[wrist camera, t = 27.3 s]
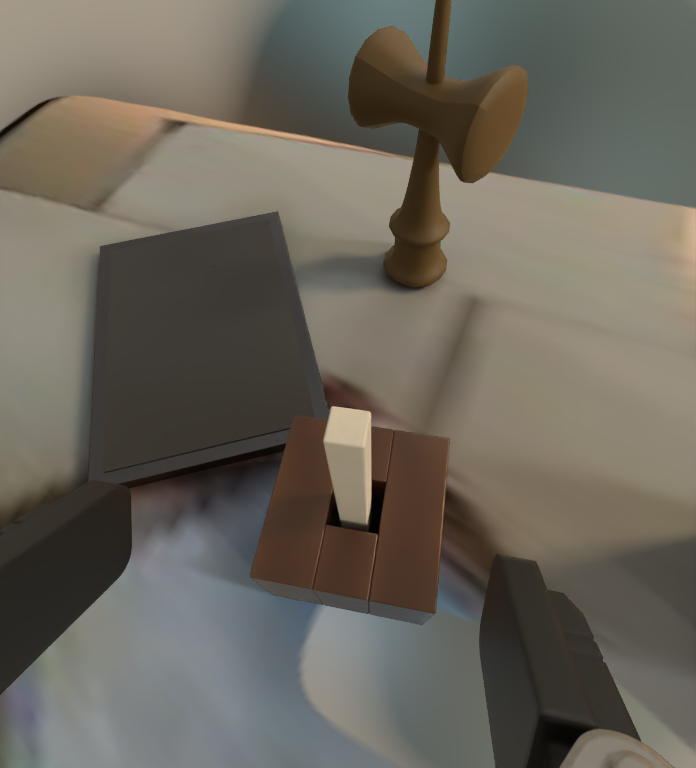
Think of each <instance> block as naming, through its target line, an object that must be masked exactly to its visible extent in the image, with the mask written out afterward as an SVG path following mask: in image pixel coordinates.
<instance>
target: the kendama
mask: <svg viewBox="0 0 696 768" xmlns="http://www.w3.org/2000/svg"><path fill="white" fill-rule="evenodd" d="M450 10H451V0H436V3H435V11H434V18H433V26H432V34H431V42H430V51H429V59H428V65H427V64H426V63H425V61H424V60H423V59H422V57H421V56H420V54H419V53H418V51H417V49H416V48H415V46H414V44H413V43H412V41H411V40H410V38H409V37H408V35H407V34H406V33H405V32H404V31H402V30H400V29H398V28H396V27H394V26H390V27H386V28H381V29H378V30H377V31H376V32H374V33H373V34H372V35H371V36H370V37H368V38H367V39H366V40H365V42H364V44H363V45H362V47H361V48H360V50H359V51H358V53H357V55H356V56H355V60H354V63H353V66H352V70H351V73H350V78H349V93H348V99H349V105H350V111H351V115H352V116H353V118H354V120H355V121H356V123H357V124H358V125H359V126H360V127H365V128H371V129H374V128H379V127H382V126H386V125H390V124H394V123H407V124H410V125H412V126H415V127H417V128H419V134H418V139H417V145H416V150H415V156H414V160H413V165H412V170H411V174H410V179H409V183H408V187H407V191H406V194H405V198H404V201H403V204H402V206H401V208H399V209H397V210H396V211H395V212H394V213H393V215H392V216H391V218H390V223H389V227H390V229H391V231H392V233H393V235H394V236H395V245H394V246H392V247H391V249H390V250H389V251H388V252H387V253H386V255H385V258H384V263H383V265H384V268H385V270H386V272H387V274H388V275H389V276H391V277H392V278H393V279H394V280H395V281H397V282H399V283H401V284H404V285H406V286H412V287H423V286H427V285H430V284H432V283H434V282H435V281H437V280H439V279H440V277H441V276H442V275H443V273H444V272H445V270H446V264H447V259H446V257H445V256H444V254H443V252H442V250H441V248H440V241H441V240H442V239H443V238H444V237H445V236H446V235H447V234H448V232H449V228H450V222H449V221H448V219H447V218H446V216H445V215H444V214H443V213H442V211H441V206H440V195H439V143H440V144H441V146H442V147H443V149H444V151H445V152H446V155H447V157H448V159H449V161H450V163H451V165H452V167H453V169H454V171H455V173H456V175H457V176H458V178H459V179H460V181H462V182H465V183H474V182H476V181H478V180H479V179H481V178H483V177H484V176H486V175H487V174H488V173H489V172H490V171H491V170H492V169H493V168H494V167H495V166H496V164H498V162H499V161H500V159H501V158H502V157H503V155H504V154H505V152H506V151H507V149H508V148H509V145H510V144H511V142H512V140H513V138H514V135H515V133H516V131H517V129H518V127H519V124H520V121H521V118H522V115H523V112H524V109H525V104H526V98H527V92H528V81H527V71H525V70H524V69H522V68H521V67H519V66H516V65H512V66H508V67H505V68H503V69H500V70H497V71H495V72H492V73H490V74H487V75H485V76H482V77H480V78H477V79H473V80H469V81H461V80H455V79H452V78H450V77H447V76H445V75H444V74H445V64H446V53H447V43H448V33H449V21H450Z"/></svg>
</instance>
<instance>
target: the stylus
mask: <svg viewBox="0 0 696 768" xmlns="http://www.w3.org/2000/svg"><path fill="white" fill-rule="evenodd" d="M323 443H324V447H325V452H326V457H327V461H328V466H329V471H330V475H331V480H332V485H333V489H334V494H335V498H336V503H337V508H338V512H339V517H340V522H341V526H342V528H348V529H353V530H359V531H365V532H370V533H371V531H372V502H371V413H370V412H369V411H362V410H355V409H349V408H342V407H335V406H332V407H331V409H330V413H329V417H328V422H327V426H326V430H325V435H324V439H323Z"/></svg>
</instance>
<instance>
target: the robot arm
mask: <svg viewBox="0 0 696 768" xmlns="http://www.w3.org/2000/svg"><path fill="white" fill-rule="evenodd" d="M131 550H132V529H131V494H130V490H129V489H128V487H126V486H124V485H119V484H113V483H108V482H102V481H97V480H91V481H88V482H87V483H85V484H83V485H82V486H80V487H78V488H77V489H75V490H74V491H72V492H70V493H69V494H67V495H65V496H64V497H62V498H60V499H58V500H55V501H52V502H49V503H46V504H43V505H41V506H38V507H35V508H34V509H32V510H30V511H29V512H27V513H25V514H24V515H22V516H20V517H19V518H17V519H15V520H14V521H13V523H12V524H10V523H9V524H7V525H5V526H4V527H2V528H0V695H1V694H2V693H3V692H4V691H5V690H6V689H7V688H8V687H9V686H10V685H11V684H12V683H13V682H14V681H15V680H16V679H17V678H18V677H19V676H20V675H21V674H22V673H23V672H24V671H25V670H26V669H27V668H28V667H29V666H30V665H31V664H32V663H33V662H34V661H35V660H36V659H37V658H38V657H39V656H40V655H41V654H42V653H43V652H44V651H45V650H46V649H47V648H48V647H49V646H50V645H51V644H52V643H53V642H54V641H55V640H56V639H57V638H58V637H59V636H60V635H61V634H62V633H63V632H64V631H65V630H66V629H67V628H68V627H69V626H70V625H71V624H72V623H73V622H74V621H75V620H76V619H77V618H78V617H79V616H80V615H81V614H83V613H84V612H85V611H86V610H87V609H88V608H89V607H90V606H91V605H92V604H93V603H94V602H95V601H96V600H97V599H98V598H99V597H100V596H101V595H102V594H103V593H104V592H105V591H106V590H107V589H108V588H109V587H110V586H111V585H112V584H113V583H114V582H115V581H116V580H117V579H118V578H119V577H120V576H121V574H122V573H123V572H124V570H125V568H126V566H127V564H128V562H129V559H130V555H131ZM479 648H480V658H481V665H482V672H483V679H484V687H485V694H486V702H487V709H488V716H489V723H490V731H491V737H492V744H493V752H494V759H495V766H496V768H674V767H673V766H672V765H671V764H670V763H669V762H668V761H666V760H665V759H664V758H663V757H662V756H661V755H659V754H658V753H657V752H656V751H654V750H653V749H652V748H650V747H649V746H647V745H645V744H644V743H642V742H641V739H640V737H639V735H638V733H637V731H636V728H635V726H634V724H633V722H632V720H631V717H630V715H629V713H628V711H627V709H626V707H625V704H624V702H623V700H622V698H621V696H620V694H619V691H618V689H617V687H616V685H615V682H614V680H613V678H612V676H611V674H610V672H609V669H608V667H607V665H606V663H605V662H603V656H602V654H601V652H600V650H599V648H598V645H597V643H596V642H594V637H593V634H592V632H591V630H590V628H589V626H588V623H587V621H586V619H585V617H584V615H583V613H582V612H581V611H580V610H579V609H578V608H577V607H576V606H575V605H574V604H573V603H572V602H571V601H570V600H569V599H568V598H567V597H566V595H565V594H564V593H561V592H555V591H550V590H547V588H546V585H545V583H544V580H543V577H542V575H541V572H540V570H539V567H538V565H537V563H536V561H533V560H527V559H522V558H516V557H511V556H505V555H500V554H496V555H495V557H494V560H493V563H492V568H491V573H490V578H489V583H488V588H487V592H486V597H485V602H484V607H483V612H482V617H481V623H480V635H479Z"/></svg>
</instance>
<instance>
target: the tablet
mask: <svg viewBox="0 0 696 768" xmlns="http://www.w3.org/2000/svg"><path fill="white" fill-rule="evenodd" d="M294 415H298V416H304V417H311V418H318V419H325V420H328V417H329V409H328V406H327V402H326V398H325V394H324V390H323V386H322V382H321V378H320V374H319V370H318V366H317V362H316V358H315V354H314V351H313V347H312V343H311V339H310V335H309V331H308V327H307V323H306V319H305V315H304V311H303V307H302V303H301V300H300V296H299V292H298V288H297V284H296V280H295V276H294V272H293V268H292V264H291V260H290V256H289V252H288V248H287V245H286V241H285V237H284V233H283V229H282V225H281V221H280V217H279V213H278V212H272V213H267V214H262V215H257V216H252V217H247V218H242V219H237V220H232V221H227V222H221V223H216V224H211V225H206V226H201V227H196V228H191V229H186V230H181V231H175V232H170V233H165V234H160V235H155V236H150V237H145V238H140V239H135V240H129V241H124V242H119V243H114V244H109V245H104V246H100V258H99V277H98V297H97V316H96V336H95V355H94V375H93V394H92V414H91V433H90V453H89V472H88V481H91V480H97V481H102V482H108V483H113V484H119V485H124V486H126V487H128V488H130V487H134V486H138V485H142V484H147V483H151V482H155V481H159V480H163V479H167V478H171V477H175V476H180V475H184V474H188V473H192V472H196V471H200V470H204V469H208V468H213V467H217V466H221V465H225V464H229V463H233V462H237V461H242V460H246V459H250V458H254V457H258V456H262V455H266V454H270V453H275V452H279V451H283V450H285V446H286V442H287V439H288V435H289V432H290V428H291V424H292V421H293V417H294Z"/></svg>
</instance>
